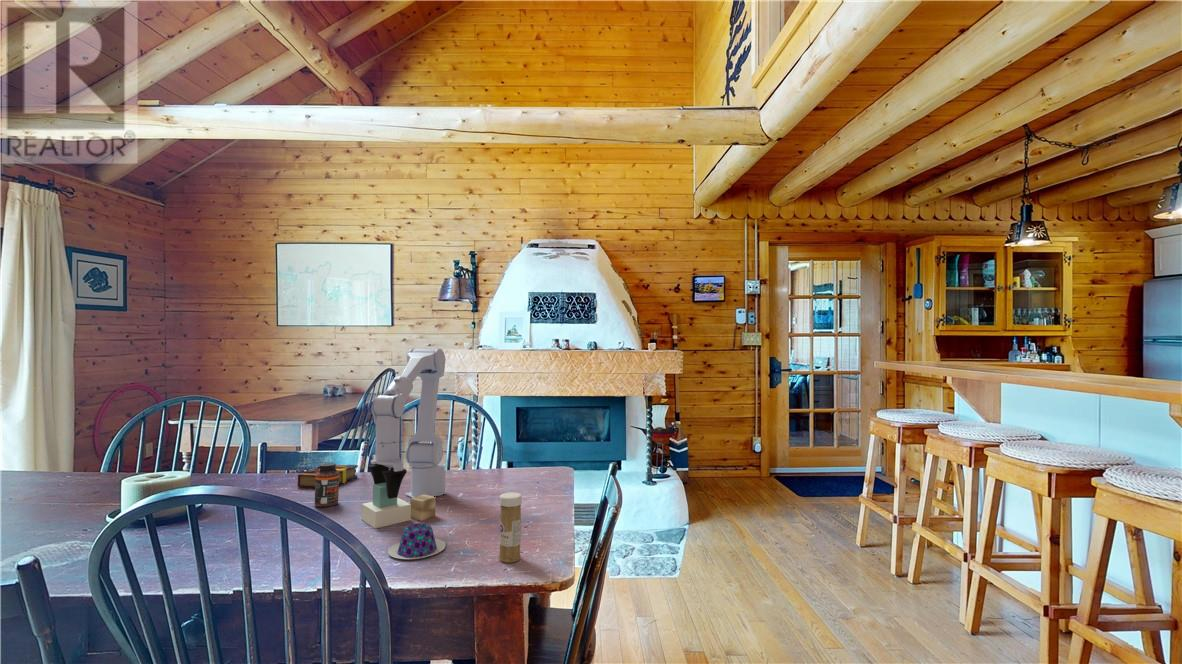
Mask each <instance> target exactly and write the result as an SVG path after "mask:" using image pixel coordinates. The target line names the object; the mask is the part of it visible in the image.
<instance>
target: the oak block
mask: <svg viewBox="0 0 1182 664" xmlns="http://www.w3.org/2000/svg"><path fill="white" fill-rule="evenodd" d="M409 498H410V499H409V504H411V519H412V520H413V519H414V520H417V521H422V522H423V521H425V520H428V519H430V517H431V518H433V516H434V517H436V505H437V504H436V503H437V502H436V500H437V496H435V497H433V496H429V495H420V496H417V497H414V498H411V497H409Z"/></svg>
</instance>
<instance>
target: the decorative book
mask: <svg viewBox="0 0 1182 664" xmlns="http://www.w3.org/2000/svg"><path fill="white" fill-rule="evenodd" d="M358 467H359V465H358V464H336V468H335V469H336V470H337V471H338V472H339V485H342V484H341V483H344V484H345V482H347V481H351V479H352V480H354V479H356V478H355V477H357V476H358V474H356V469H357V468H358ZM319 471H320V465H319V466H317V468H313V469H307V470H305V471H303V472H301V473H300V474H297V488H306V489H307V488H308V489H309V488H310V489H312V488H314V489H315V480H316V474H317V473H318V472H319ZM358 477H359V476H358ZM358 477H357V478H358ZM353 478H354V479H353Z"/></svg>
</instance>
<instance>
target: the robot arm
mask: <svg viewBox="0 0 1182 664" xmlns="http://www.w3.org/2000/svg"><path fill="white" fill-rule="evenodd" d="M445 369H446V355H445V352H444V350H443V349H442V348H415V347H413V348H410V349H409V351H408V353H407V355H406V365H405V367H404V370H403V371H402V373H401V375H399V376H395V377H394V378H393V380H391V382H390V383H389V385H388V387H387V388H386V389H385V391H384V392H383V393H382V394H379V395H377V396H376V397H374V399H373V401H372V405H371V414H372V416H373V423H374V425H375V453H374V454H372V459H371V460H370V464H369V465H368V466H367V468H368V470H369V471H370V473H371V476H372V479H373V485H374V484H379V483H385V482H386V487H387V496H388V498H389V499H391V498H396V497H397V498H398V495H399V493H400V489H401V484H402V481H403V479H404V478H405V475H406V474H407V472H408V471H407V469H406V468H404V462H402V460H401V457H400V431H401V430H400V429H401V428H400V426H401V424H400V423H401V422H400V421H401V420H400V419H401V418H400V417H402V416H403V415H404V412H405V406H406V404H407V399H408V397H409V395H410V394H411V392H412V391H413V389H414V384H413V382H414V381H415V380H416V378H417V377H419V378H420V379H421V388H420V389H421V390H420V400H419V409H418V417H417V418H418V420H417V428H416V429H417V430H416V432H415V433H414V434H413V435H411V436H410V437H409V438H408V440H407V445H406V448H405V450H404V451H405V452H404V459H405V461H406V463H407V464H409V465H408V466H409V467H411V471H410V472H411V473H410V475H411V478H410V491H409V492H405V494H404V495H405V496H408V497H409V498H414V497H417V496H420V495H429V496H433V497H434V496H435V497H439V496H443V494H444V495H446V494H447V492H446V468H445V466H444V464H443V463H441V462H442V460H443V457H444V448H443V439H442V438H441V437H440V436H439V435H438V434H437V433H436V432H435V427H436V426H435V425H436V416H437V405H438V395H439V385H440V378H442V377H443V376H444V375H445ZM421 442H423V443H421ZM425 442H426V443H425ZM427 442H428V443H427ZM429 442H430V443H429Z"/></svg>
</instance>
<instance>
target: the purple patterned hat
mask: <svg viewBox="0 0 1182 664" xmlns="http://www.w3.org/2000/svg"><path fill="white" fill-rule="evenodd" d="M400 538H401V539H400V541H399V542H397V543H395V544H392V545H391V546H390V547H389V548H388V550H387V554H388V555H389V557H392V558H395V559H398V560H399V559H400V560H417V559H424V558H428V557H431V556H434V555H437V554H438V553H440V552H442V551H444V549H445V548H446V544H447V543H446V542H445V541H443V540H441V539H439V538H435V534H434V530H433V527H432V526H431V525H430V524H428V523H413V524H409V525H408V526H405V527H404V528H403V531H402V534H401V537H400ZM437 546H438V548H437ZM433 552H434V553H433Z"/></svg>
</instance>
